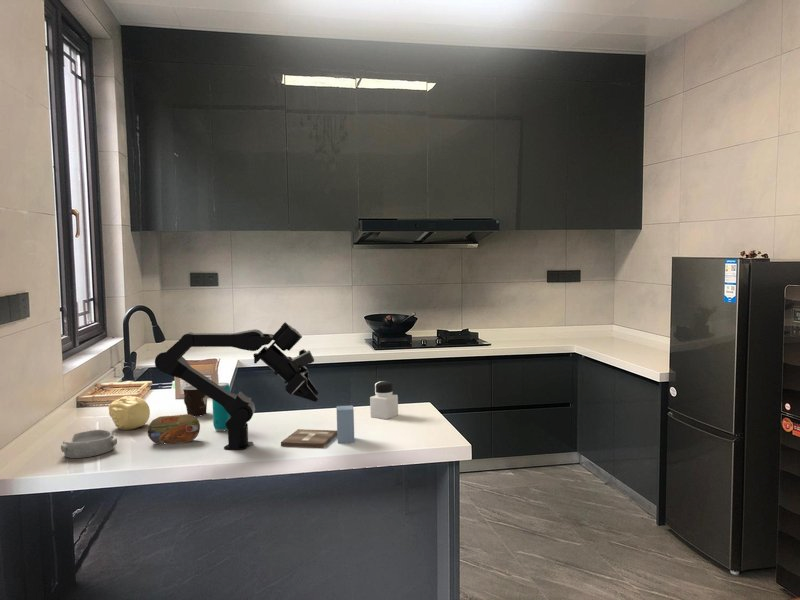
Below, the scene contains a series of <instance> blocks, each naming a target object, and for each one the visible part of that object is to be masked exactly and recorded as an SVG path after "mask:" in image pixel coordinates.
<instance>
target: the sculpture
mask: <svg viewBox="0 0 800 600" xmlns="http://www.w3.org/2000/svg"><path fill="white" fill-rule="evenodd" d="M108 414H109V417H111V420H112V421H113V423H114V426H115V427H116V428H118V429H120V430H123V431H124V430H127V431H130V430H135V429H138V428H140V427H143V426H144V425H146V424H147V423H148V421H149V419H150V417H151V410H150V406H149V404H148V403H147V402H146V400H144V399H143V398H141V397H138V396H131V395H124V396H122V397H120V398H118V399H115V400H113V401H112V402H111V403H110V404H109V405H108Z"/></svg>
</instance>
